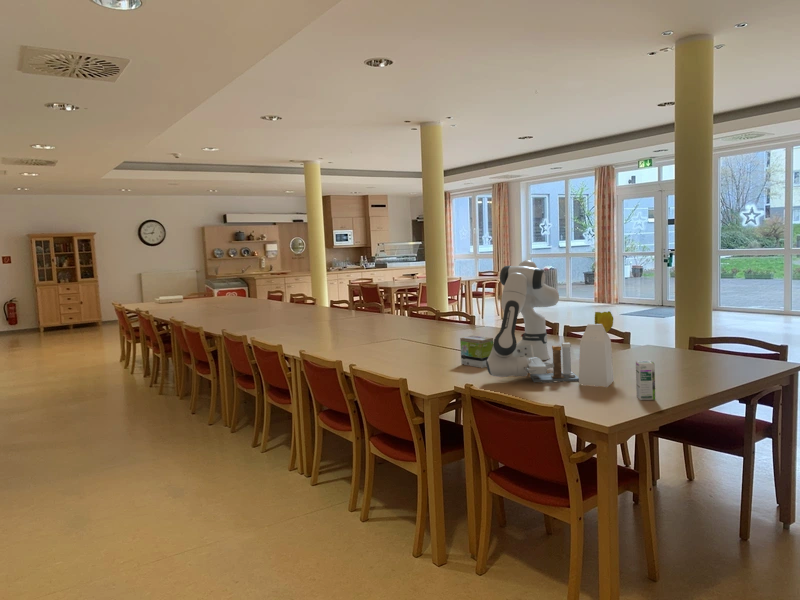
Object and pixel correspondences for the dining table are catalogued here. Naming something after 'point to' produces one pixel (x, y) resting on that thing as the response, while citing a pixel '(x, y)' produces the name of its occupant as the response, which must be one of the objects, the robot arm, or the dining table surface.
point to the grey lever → (566, 359)
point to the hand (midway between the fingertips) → (553, 365)
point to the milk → (595, 357)
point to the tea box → (475, 350)
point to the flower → (604, 319)
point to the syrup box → (645, 380)
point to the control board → (548, 378)
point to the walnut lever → (557, 362)
